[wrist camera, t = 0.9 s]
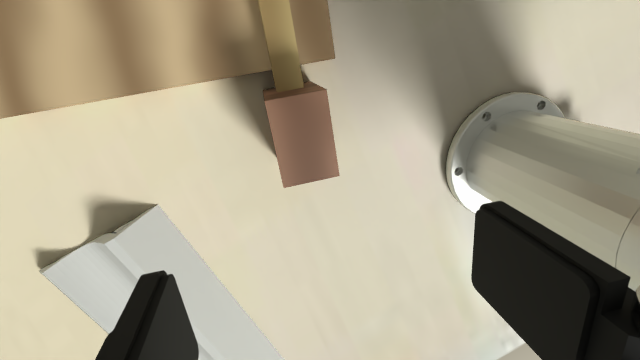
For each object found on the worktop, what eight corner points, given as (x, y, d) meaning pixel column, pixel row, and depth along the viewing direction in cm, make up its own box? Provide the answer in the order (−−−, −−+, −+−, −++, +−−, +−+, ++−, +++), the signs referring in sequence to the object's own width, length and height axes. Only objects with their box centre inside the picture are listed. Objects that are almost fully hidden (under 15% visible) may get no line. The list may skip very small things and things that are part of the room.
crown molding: (47, 263, 30) (20, 289, 27) (163, 198, 30) (152, 216, 26) (236, 439, 42) (234, 472, 39) (319, 394, 42) (325, 423, 38)
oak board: (315, -58, 24) (318, -64, 23) (331, 58, 27) (335, 58, 26) (-110, 3, 21) (-135, -1, 20) (-39, 124, 24) (-58, 128, 23)
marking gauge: (288, -54, 24) (299, -93, 18) (321, 149, 30) (339, 175, 23) (232, -46, 24) (224, -83, 17) (277, 158, 30) (283, 187, 23)
